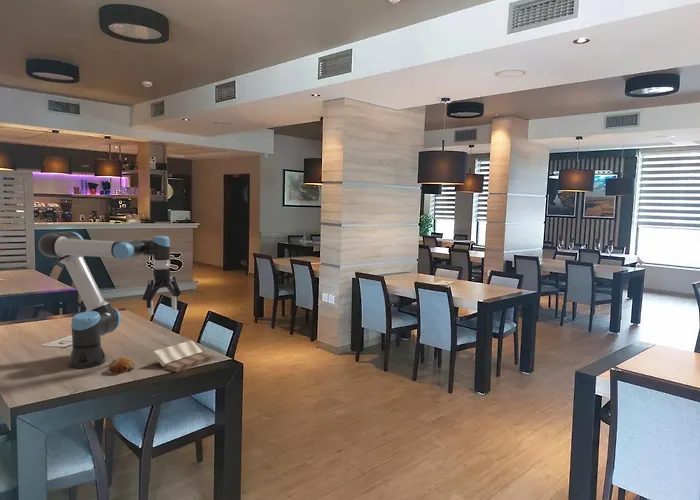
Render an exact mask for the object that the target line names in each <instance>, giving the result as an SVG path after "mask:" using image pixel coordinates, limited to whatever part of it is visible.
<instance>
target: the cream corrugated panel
mask: <svg viewBox="0 0 700 500" xmlns="http://www.w3.org/2000/svg"><path fill="white" fill-rule="evenodd" d="M200 353H203V350H202V349H201V348H200V347H199V346H198V345H197V344H196V343H195V342H194V341H193V340H188V341H184V342H181V343H177V344H174V345H171V346H167V347H163V348H159V349H156V350H153V351H152V356H153V357H154V358H155V359H156V361H158V362H157V363H158V364H159V365H160V366H161V367H162V366H163V367H162V368H166V367H165V365H166V364H169V363H172V362H175V361H178V360H181V359H184V358H187V357H190V356H193V355H197V354H200Z"/></svg>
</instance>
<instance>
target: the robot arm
mask: <svg viewBox="0 0 700 500" xmlns="http://www.w3.org/2000/svg"><path fill="white" fill-rule="evenodd" d="M170 242H171V241H170V237H169V236H166V235H154V236H153V237H152V239H151V240H150V239H131V240H128V241H117V240H116V241H115V240H114V241H113V240H100V239H99V240H97V239H84V238H83V236H82V235H81V234H80V233H78V232H75V231H65V230H64V231H60V232H58V231H57V232H49V233H45V234H44V235H42V236H41V237H40V239H39V240H38V245H37V247H38V250H39V252H40V253H41V254H42V255H43V256H45V257H48V258H57V259H58V261H59V263H60V264H63V265H64V266H65V269H66V270H67V272H68V274H69V276H70V277H71V280H72V282H73V284H74V286H75V288H76V290H77V292H78V294H79V296H80V298H81V301H82V302H83V304H84V306H85V309H86V310H85V311H84V312H79V313H77V314H75V315H74V316H73V317H72V318H71V323H70V324H71V325H70V327H71V340H72V341H71V343H72V349H71V353H70V356H69V359H68V366H69V367H70V368H73V369H87V368H88V369H89V368H93V367H94V368H95V367H97V366H100V365H102V364H103V365H104V364H105V362H106V360H107V359H106V355H105V352H104V350H103V347H102V339H101V337H102V336H104V335H107V334H109V333H111V332H113V331H115V330H117V328H119V327H120V324H121V321H122V315H121V313H120V311H119V310H118V309H117V308H115V307H112V306H111V304H110V302H109V301H106V300H105V299H104V297H103V295H102V293H101V290H100V288H99V287H98V285H97V283H96V281H95V279H94V276H93V275H92V273H91V270H90V268H89V266H88V264H87V262H86V260H85V258H84V257H99V258H100V257H101V258H115V259H118V260H128V259H132V258H136V257H141V256H143V257H144V256H145V257H147V256H151V257H153V259H152V261H153V262H152V263H153V266H152V267H153V277H154V279H148V281H147V286H146V288H145V291H144V294H143V295H142V296H143V297H142V300H143V301H145V302H146V308H147V314H148V315H149V316H150V315H151V316H152V315H154V301H153V299H154V297H155V295H156V293H157V292H158V290H160V289H163V288H166V289H167V290H168V291H169V292H170V294H171V310H174V311H175V310H177V307H178V306H177V304H178V297H179V296H180V295H181V294H182V291H181V290H180V288H179V285H178V283H177V281H176V277H175V276H171V269H170V268H171V244H170Z"/></svg>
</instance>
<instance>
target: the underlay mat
mask: <svg viewBox="0 0 700 500" xmlns="http://www.w3.org/2000/svg"><path fill="white" fill-rule="evenodd" d="M213 360H216V358H215V357H214V359H213ZM207 362H211V360H210V361H207ZM207 362H204V364H205V363H207ZM158 363H159V362H158V360H156V361H155V363H150V366H152V367H156V368H158V369H161V370H165V371H168V372H172V371H171V370H168V369H166V367H163V366H162V365H159V364H158ZM146 365H149V362H148V363H146ZM197 366H200V364H198V365H195V366H193V367H192V368H195V367H197ZM188 369H191V367H190V368H188ZM181 371H182V372H184V370H181ZM179 372H180V371H178V372H177V373H179ZM173 373H175V374H176V372H175V371H173Z"/></svg>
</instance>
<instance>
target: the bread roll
mask: <svg viewBox="0 0 700 500" xmlns="http://www.w3.org/2000/svg"><path fill="white" fill-rule="evenodd" d="M108 367H109V368H108V369H109V372H110V373H111V374H115V375H120V374H123V373H128V372H131V371H133V370H134V369H135V363H134V361H133V360H132V359H131V358H130V357H128V356H120V357H117V358H114V359H113V360H112V361H111V362H110V364H109V366H108Z"/></svg>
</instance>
